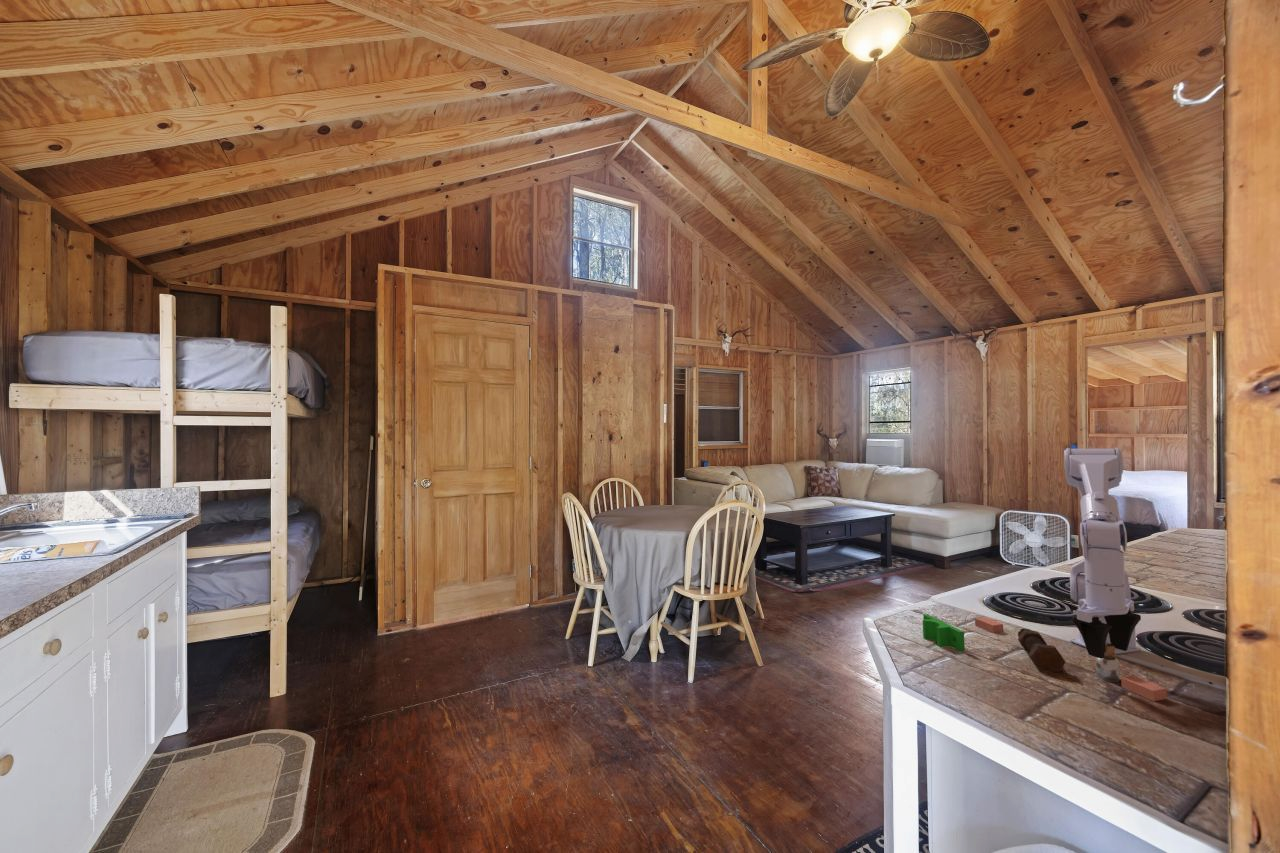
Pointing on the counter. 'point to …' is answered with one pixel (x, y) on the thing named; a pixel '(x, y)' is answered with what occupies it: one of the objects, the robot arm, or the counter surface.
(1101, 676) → the two-tone metal capsule
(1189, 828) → the counter surface
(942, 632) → the pipe clamp
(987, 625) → the block
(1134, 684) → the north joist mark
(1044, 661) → the bolt
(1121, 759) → the counter surface
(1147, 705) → the counter surface
